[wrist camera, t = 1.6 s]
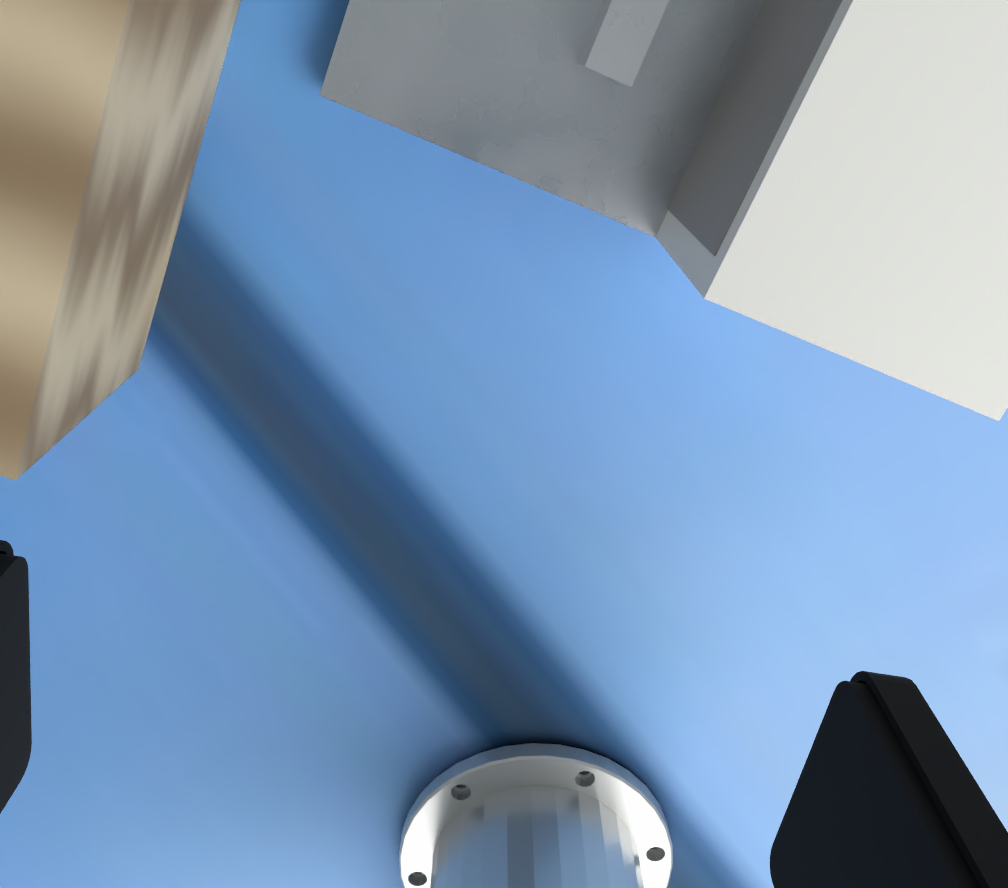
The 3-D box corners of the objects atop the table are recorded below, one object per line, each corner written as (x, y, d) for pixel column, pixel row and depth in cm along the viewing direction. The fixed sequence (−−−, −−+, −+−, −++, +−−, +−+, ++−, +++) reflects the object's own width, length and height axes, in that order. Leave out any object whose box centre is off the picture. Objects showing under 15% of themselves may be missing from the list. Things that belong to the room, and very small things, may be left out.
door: (139, 368, 36) (15, 480, 27) (0, 317, 35) (-176, 415, 26) (244, -12, 31) (137, -34, 22) (85, -81, 30) (-94, -134, 21)
